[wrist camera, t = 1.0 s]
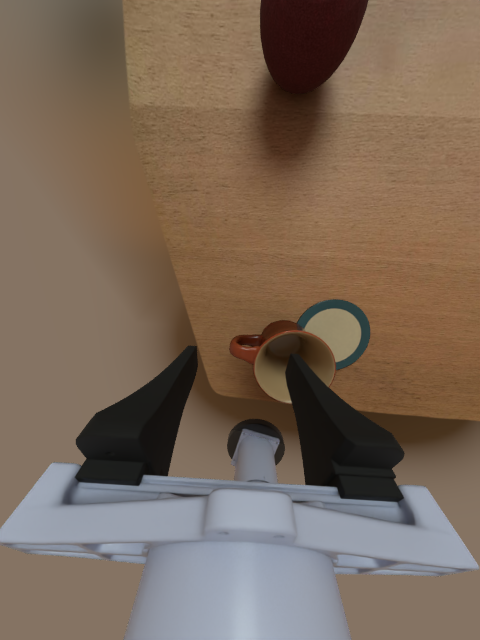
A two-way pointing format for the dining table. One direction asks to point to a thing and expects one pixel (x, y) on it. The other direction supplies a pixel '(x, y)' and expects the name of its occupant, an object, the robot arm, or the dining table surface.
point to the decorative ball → (307, 39)
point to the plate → (338, 329)
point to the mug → (283, 356)
